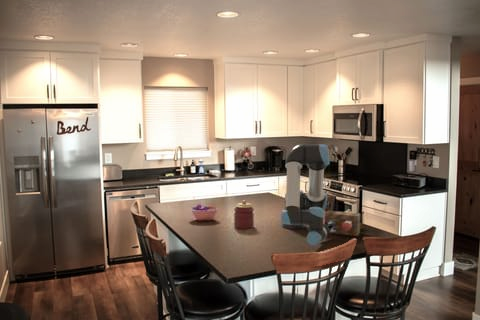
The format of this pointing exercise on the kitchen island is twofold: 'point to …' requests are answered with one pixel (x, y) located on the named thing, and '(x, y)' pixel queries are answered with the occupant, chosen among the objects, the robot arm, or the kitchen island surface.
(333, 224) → the graphite plug
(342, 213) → the walnut plug block
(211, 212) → the cell model
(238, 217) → the canister
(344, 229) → the red plug
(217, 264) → the kitchen island surface
